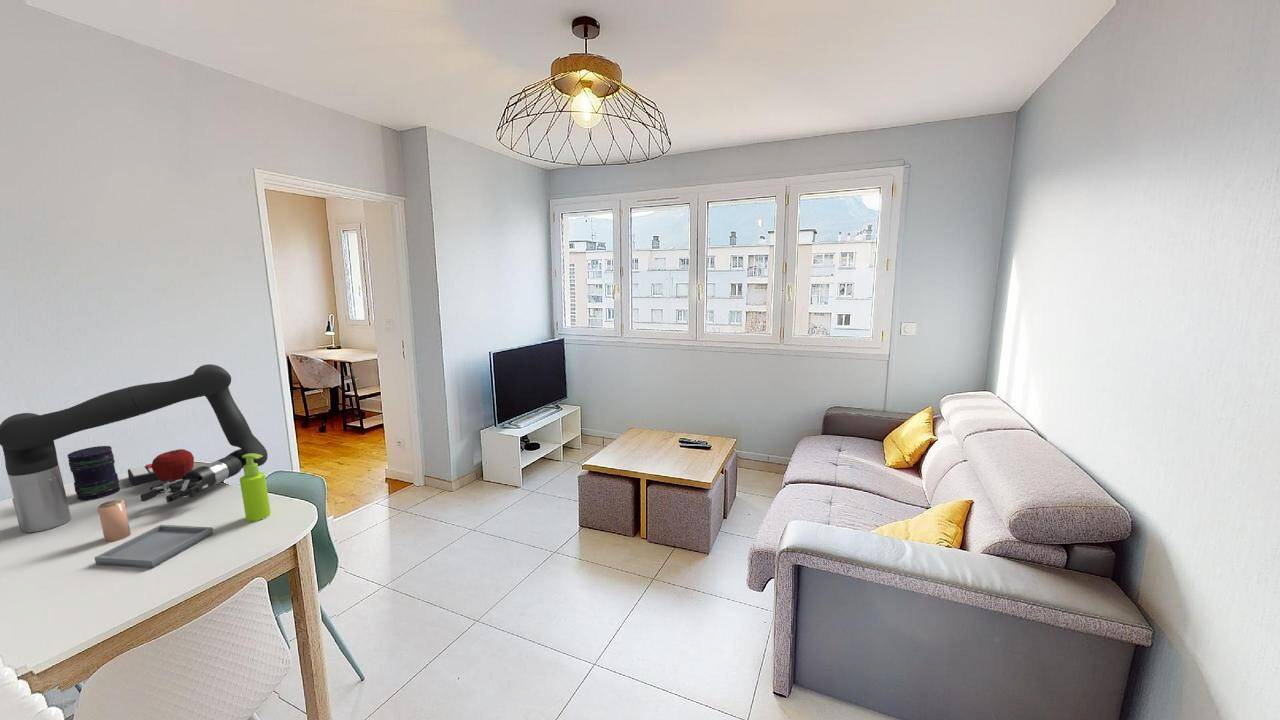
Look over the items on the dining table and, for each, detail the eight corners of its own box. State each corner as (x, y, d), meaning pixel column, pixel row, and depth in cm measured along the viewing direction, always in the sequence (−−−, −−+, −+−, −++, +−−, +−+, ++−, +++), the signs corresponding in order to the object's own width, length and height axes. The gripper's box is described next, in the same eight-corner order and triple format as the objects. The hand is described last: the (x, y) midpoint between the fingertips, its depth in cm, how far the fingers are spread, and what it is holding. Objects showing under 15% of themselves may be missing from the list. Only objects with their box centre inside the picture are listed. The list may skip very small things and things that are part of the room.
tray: (96, 564, 124) (94, 557, 123) (162, 531, 139) (160, 524, 139) (153, 568, 122) (151, 560, 122) (213, 533, 138) (212, 527, 137)
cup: (99, 541, 134) (91, 507, 132) (120, 531, 139) (112, 499, 137) (115, 542, 133) (108, 508, 132) (135, 532, 138) (129, 499, 136)
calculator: (190, 463, 178) (131, 475, 166) (191, 475, 179) (133, 487, 167) (184, 456, 185) (127, 467, 173) (185, 467, 185) (128, 478, 174)
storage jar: (93, 488, 165) (84, 447, 163) (128, 485, 168) (120, 444, 165) (67, 502, 156) (57, 458, 153) (105, 498, 158) (95, 455, 155)
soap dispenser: (260, 523, 144) (250, 459, 140) (241, 520, 145) (230, 457, 141) (278, 513, 149) (269, 451, 146) (259, 511, 151) (250, 450, 147)
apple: (179, 474, 177) (173, 443, 175) (205, 475, 176) (200, 444, 174) (146, 487, 166) (139, 455, 164) (174, 489, 165) (168, 456, 163)
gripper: (185, 464, 161) (130, 486, 145) (224, 466, 160) (174, 488, 144) (189, 485, 163) (135, 509, 147) (228, 487, 161) (178, 511, 146)
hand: (154, 499), depth 145 cm, fingers open, 8 cm apart
